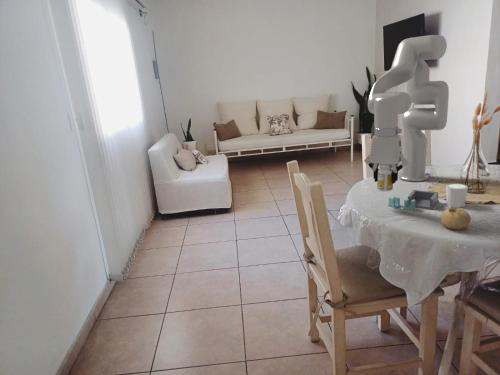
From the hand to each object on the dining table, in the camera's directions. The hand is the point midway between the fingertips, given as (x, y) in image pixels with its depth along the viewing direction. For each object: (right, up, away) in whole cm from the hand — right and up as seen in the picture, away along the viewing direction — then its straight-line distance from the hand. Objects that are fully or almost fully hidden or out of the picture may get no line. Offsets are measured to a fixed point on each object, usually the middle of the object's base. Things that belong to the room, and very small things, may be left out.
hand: (385, 181), depth 128 cm
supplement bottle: (0, -3, +1) cm, 3 cm away
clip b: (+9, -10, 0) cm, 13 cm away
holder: (+15, -9, +3) cm, 18 cm away
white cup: (+26, -9, 0) cm, 27 cm away
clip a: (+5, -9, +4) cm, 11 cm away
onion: (+15, -15, -17) cm, 27 cm away
